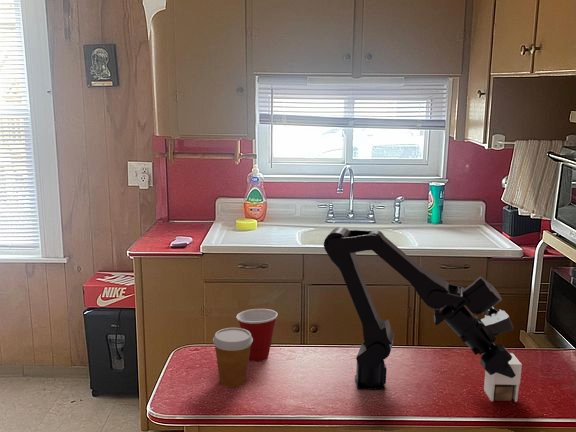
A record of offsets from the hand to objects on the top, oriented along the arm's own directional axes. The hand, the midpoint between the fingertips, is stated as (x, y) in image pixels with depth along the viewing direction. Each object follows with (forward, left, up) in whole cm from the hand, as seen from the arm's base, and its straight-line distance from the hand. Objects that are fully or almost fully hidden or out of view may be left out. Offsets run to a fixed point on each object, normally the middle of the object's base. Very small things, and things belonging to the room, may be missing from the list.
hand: (509, 370), depth 144 cm
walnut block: (-1, 0, -7) cm, 7 cm away
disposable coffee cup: (-64, +5, -7) cm, 65 cm away
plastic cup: (-59, +19, -7) cm, 63 cm away
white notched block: (-1, 0, -7) cm, 7 cm away
